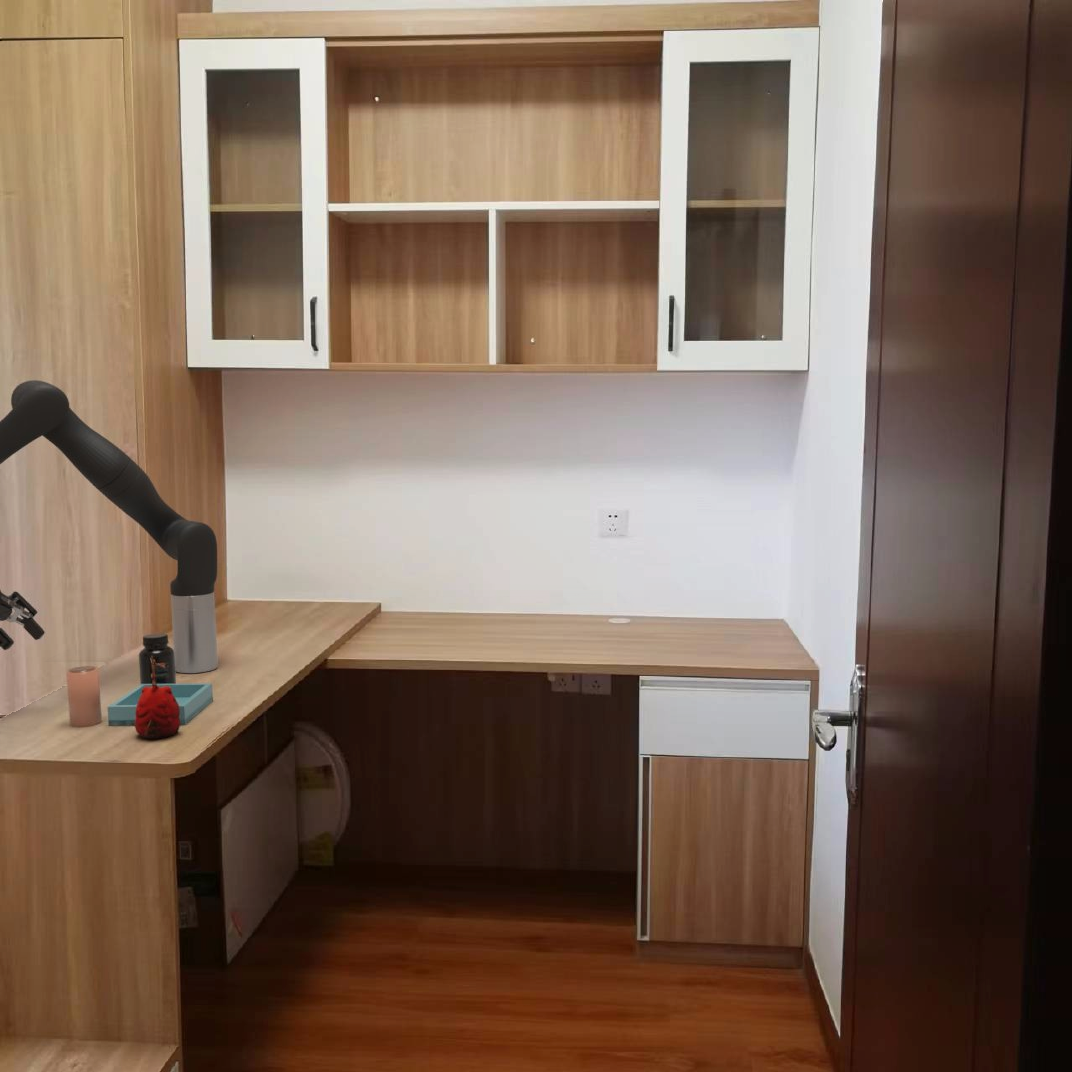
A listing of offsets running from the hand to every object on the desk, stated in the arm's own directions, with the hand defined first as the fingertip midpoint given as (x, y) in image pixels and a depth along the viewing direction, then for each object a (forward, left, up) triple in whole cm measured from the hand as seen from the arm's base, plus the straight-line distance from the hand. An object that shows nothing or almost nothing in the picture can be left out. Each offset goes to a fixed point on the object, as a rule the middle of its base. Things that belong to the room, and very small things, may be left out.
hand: (25, 641), depth 187 cm
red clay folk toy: (+10, +27, -15) cm, 33 cm away
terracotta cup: (+2, +11, -15) cm, 19 cm away
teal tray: (-4, +23, -15) cm, 28 cm away
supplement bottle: (-18, +17, -15) cm, 29 cm away
